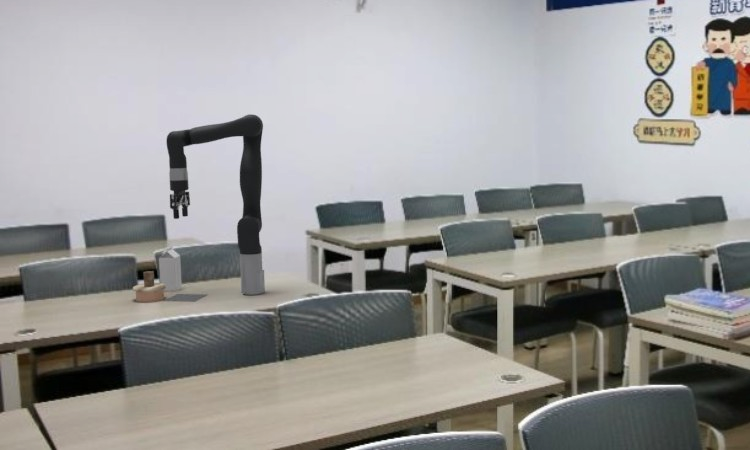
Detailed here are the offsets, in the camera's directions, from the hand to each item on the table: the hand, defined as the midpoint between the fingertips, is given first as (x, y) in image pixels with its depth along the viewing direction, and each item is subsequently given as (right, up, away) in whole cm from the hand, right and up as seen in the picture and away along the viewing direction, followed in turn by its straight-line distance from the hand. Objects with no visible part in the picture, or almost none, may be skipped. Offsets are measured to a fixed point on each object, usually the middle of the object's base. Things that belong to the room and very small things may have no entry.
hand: (180, 217), depth 346 cm
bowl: (-11, -34, -6) cm, 37 cm away
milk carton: (-7, -32, +14) cm, 36 cm away
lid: (-12, -29, -6) cm, 32 cm away
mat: (+3, -34, -5) cm, 34 cm away
